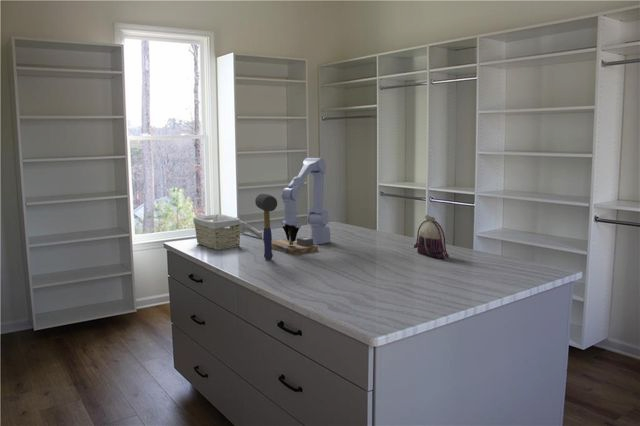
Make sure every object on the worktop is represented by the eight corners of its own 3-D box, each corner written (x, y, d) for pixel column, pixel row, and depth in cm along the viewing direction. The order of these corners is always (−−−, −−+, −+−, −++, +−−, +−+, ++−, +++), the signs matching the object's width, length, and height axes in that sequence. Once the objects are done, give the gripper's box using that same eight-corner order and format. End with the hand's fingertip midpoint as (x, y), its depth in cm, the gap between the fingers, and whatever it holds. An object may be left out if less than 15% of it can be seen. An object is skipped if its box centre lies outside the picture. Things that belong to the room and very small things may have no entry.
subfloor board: (290, 242, 289) (290, 238, 288) (319, 250, 268) (318, 245, 267) (264, 246, 280) (264, 242, 280) (292, 255, 259) (292, 250, 259)
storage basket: (243, 246, 283) (241, 218, 281) (214, 251, 273) (212, 221, 271) (221, 240, 302) (219, 213, 300) (193, 244, 292) (191, 216, 290)
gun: (237, 229, 326) (237, 216, 324) (262, 245, 303) (263, 232, 301) (234, 229, 325) (235, 217, 323) (259, 246, 302) (260, 232, 300)
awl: (292, 243, 269) (291, 229, 267) (295, 244, 266) (295, 230, 265) (287, 244, 267) (287, 230, 266) (290, 245, 265) (290, 231, 264)
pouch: (405, 252, 259) (405, 212, 256) (418, 250, 264) (418, 210, 261) (444, 262, 238) (445, 218, 236) (458, 259, 243) (458, 216, 240)
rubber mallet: (280, 261, 248) (278, 194, 243) (264, 263, 245) (262, 196, 240) (271, 256, 259) (269, 192, 255) (256, 257, 256) (253, 193, 252)
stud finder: (305, 242, 275) (305, 236, 275) (313, 244, 269) (313, 238, 269) (296, 244, 272) (296, 237, 272) (304, 246, 267) (304, 239, 266)
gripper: (275, 212, 268) (276, 239, 270) (291, 215, 256) (292, 244, 258) (287, 210, 272) (288, 237, 274) (304, 213, 260) (305, 242, 262)
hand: (291, 240), depth 266 cm, fingers closed on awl, 3 cm apart
